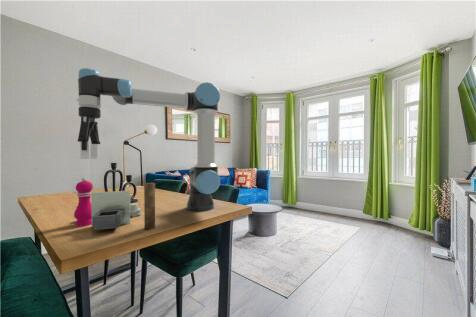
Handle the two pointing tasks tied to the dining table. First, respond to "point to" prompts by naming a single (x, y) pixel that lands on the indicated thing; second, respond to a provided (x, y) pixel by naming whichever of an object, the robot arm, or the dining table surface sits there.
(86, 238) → the dining table surface
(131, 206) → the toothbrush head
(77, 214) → the pepper mill
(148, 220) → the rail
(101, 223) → the grey card holder
